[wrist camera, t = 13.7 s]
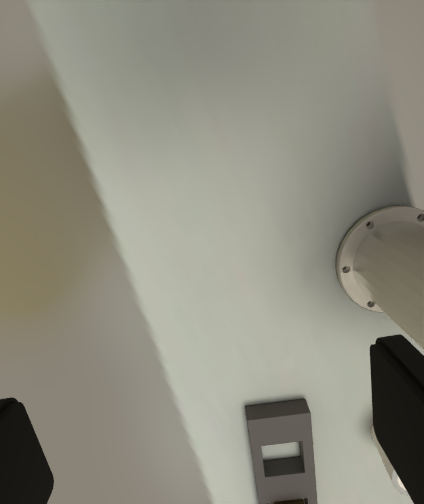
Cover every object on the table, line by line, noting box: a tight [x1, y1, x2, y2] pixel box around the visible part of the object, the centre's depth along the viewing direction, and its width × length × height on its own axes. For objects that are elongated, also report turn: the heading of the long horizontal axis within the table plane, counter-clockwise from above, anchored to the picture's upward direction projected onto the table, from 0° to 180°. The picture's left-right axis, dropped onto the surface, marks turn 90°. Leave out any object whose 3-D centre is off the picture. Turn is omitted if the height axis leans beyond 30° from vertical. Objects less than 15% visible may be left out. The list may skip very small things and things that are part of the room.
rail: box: [245, 399, 317, 504], centre depth 48 cm, size 8×24×2 cm, turn 8°
